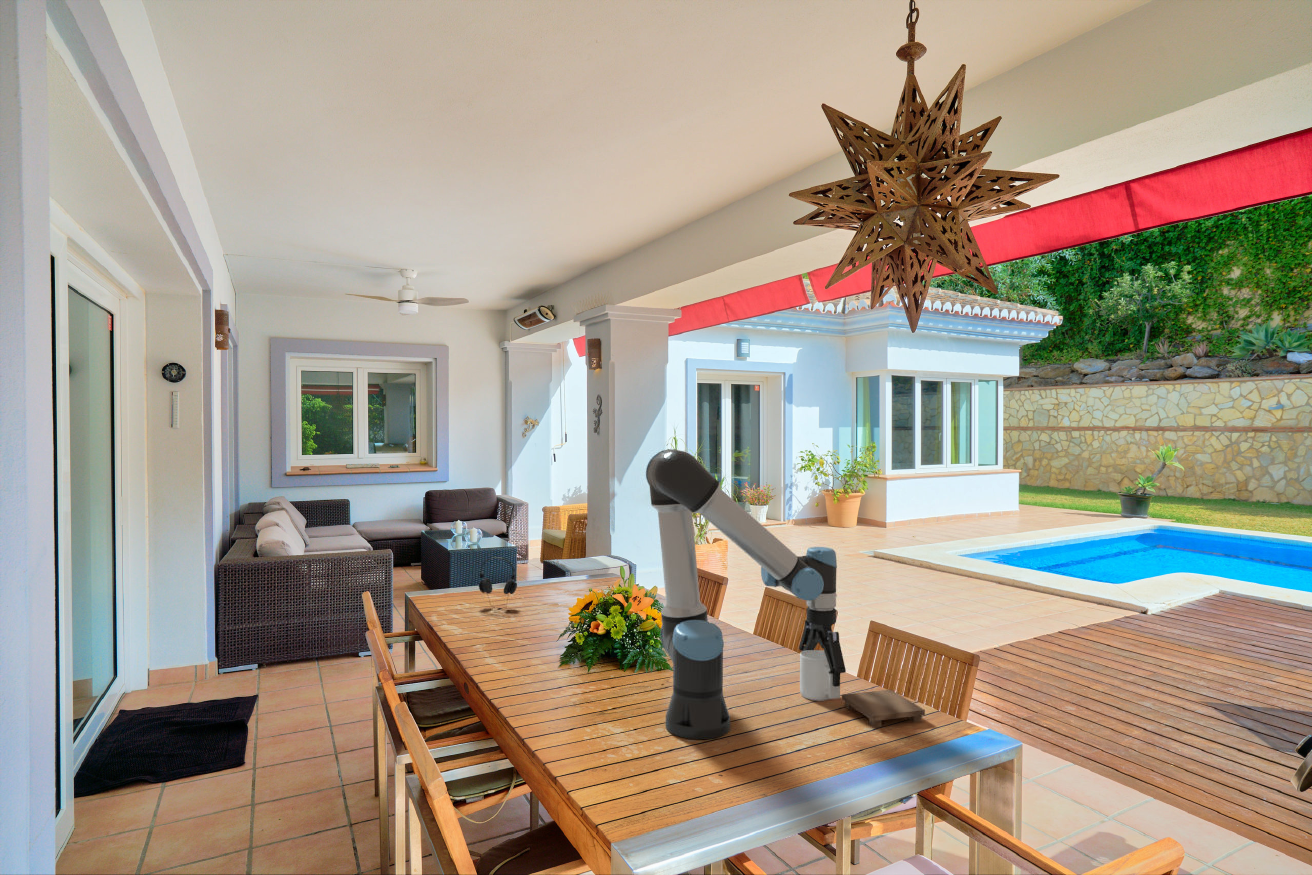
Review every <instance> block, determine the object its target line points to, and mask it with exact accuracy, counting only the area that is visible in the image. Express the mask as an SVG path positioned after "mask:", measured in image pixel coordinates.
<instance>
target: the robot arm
mask: <svg viewBox="0 0 1312 875" xmlns="http://www.w3.org/2000/svg"><path fill="white" fill-rule="evenodd" d="M645 478H646V481H647V483H648V486H649V495H650V503H651V504H650V506H651V507H653V509H655V510H656V511H657V514H658V515H657V516H658V525H659V526H658V528H659V537H660V549H661V560H662V569H663V570H662V571H663V581H664V592H665V594H664V595H665V603H666V604H665V605H664V607H663V608H662V609H661V612H660V613H661V614H660V615H661V628H660V641H661V644H662V648H663V649H664V650H665V651H664V652H666V653H667V655H668V656H669V658H670V660H671V662H672V665H673V666H672V671H673V673H672V681H673V682H672V684H673V685H672V686H673V687H672V695H671V699H670V701H669V705H668V708H667V711H666V714H665V728H666V730H667V731H668V732H669V733H671V734H673V735H675V736H677V737H679V738H680V737H681V738H684V739H689V740H690V739H691V740H709V739H710V740H711V739H716V738H719V737H722V736H724V735H725V734H727V733H728V732H729V731H730V729H731V717H730V714H729V709H728V706H727V703H726V700H725V697H724V691H723V690H724V689H723V685H724V679H723V678H724V676H723V675H724V645H725V644H724V643H725V642H724V636H723V631H722V629H721V628H720V627H719V626H718V625H717V624H716V623H713V622H709V620H708V619H709V617H708V608H707V607H706V605H705V604H704V603H702V602H701V598H700V596H701V595H700V588H699V576H698V563H697V552H696V542H695V530H694V519H693V514H700V515H701V516H702V517H703V518H704V519H706V520H707V521H708V522H709V523H710V524H712V525H713V527H715V528H716V529H717V530H718V531H719V532H721V534H723V535H724V536H725V537H727V538H728V539H729V540H730V541H731V542H732V543H734V545H736V546H737V547H738V548H739V549H740V550H742V551H743V552H744V553H745V554H747V556H749V557H750V558H751V559H752V560H753V561H754V562H756V563H757V564H758V565H759V566H760V574H761V575H760V576H761V580H762V582H763V584H764V585H765V586H766V587H773V588H777V587H781V588H783V589H784V590H786V591H788V592H790V593H791V594H792V595H794V596H795V597H796V598H797V599H799V600H803V601H806V606H807V608H806V619H805V620H804V627H803V631H802V635H801V638H800V643H799V645H798V646H799V647H798V649H799V651H801V652H803V651H806V650H816V648H817V646H818V645H819V646H820V648H821V649H823V651H824V652H825V655H826V658H827V661H828V664H829V667H830V671H829V700H835V699H841V674H842V673H843V674H844V673H846V671H847V670H846V666H845V661H844V656H843V652H842V647H841V644H840V633H839V631H833V630H832V629H833V627H832V626H833V625H835V624H836V623H837V609H836V607H837V597H838V595H837V568H838V567H837V566H838V565H837V553H836V551H835V550H834V549H833V548H831V547H828V546H827V547H825V546H813V547H811V546H810V547H809V548H807V549H806V553H805V555H802V556H800V555H799V556H797V554H796V553H795V552H793V551H792V550H791V549H790V548H788V546H786V544H784V542H782V541H781V540H779V539H778V537H776V536H775V535H773V533H772V532H770V531H769V530H768V529H767V528H766V527H765V526H763V525H762V524H761V522H759V521H758V520H756V518H754V517H753V516H752V515H751V514H750V513H749V512H748V511H746V510H745V509H744V508H743V507H742V506H741V505H740V504H739V503H737V502H736V501H735V500H734V499H733V498H731V497H730V496H729V495H728V494H727V493H726V492H725V491H724V490H722V488H721V482H720V481H719V480H718V479H716V478H715V477H714V475H712V474H711V473H710V472H709V471H708V470H707V468H706V467H704V466H703V465H702V464H701V463H700V461H699V460H698V459H697V458H696V457H694V455H692V454H690V453H689V452H686V451H684V450H678V449H675V448H674V449H673V448H667V449H662V450H661V451H658V452H657V453H656V454H654V455H653V456H652V457H651V458H650V459H649V461H648V463H647V465H646V469H645Z"/></svg>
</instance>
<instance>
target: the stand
mask: <svg viewBox="0 0 1312 875" xmlns="http://www.w3.org/2000/svg"><path fill="white" fill-rule="evenodd" d="M841 700H842V701H843V702H844V708H846V710H848V711H853V710H856V711H858V712H859V713H861V714H862V715H864V716H865V717H867V719H868V725H869V726H870V727H872V728H874V729H876V728H882V721H887V720H894V719H903V718H909V721H911V722H913V723H915V724H916V723H922V722H923V721H922V719H923V716H925V715H926V709H924V708H923V707H921V706H920V705H917V704H916V703H914V702H912V701H910V700H909V699H907V698H906V697H904V696H903V695H900V694H899V693H897V692H896V691H894V690H892V689H885V690H882V689H881V690H874V691H873V690H872V691H864V692H855V693H853V692H852V693H846V694H841Z"/></svg>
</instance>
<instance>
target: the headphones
mask: <svg viewBox="0 0 1312 875" xmlns="http://www.w3.org/2000/svg"><path fill="white" fill-rule="evenodd" d="M493 559H499V560H503V561H505V562H506V563H508V564H509V566H510V567H511V570H512V573H513V574H511V576H510V577H511V578H508V580H507V582H506V583H505V585H504V588H503V594H504V595H509V594H510V595H513V594H514V593H515V592H516V591H517V587H518V583H517V582H516V581H515V580H516V574H515V572H516V569H515V568H514V567H513V565H512V563H511V562H510V560H509V559H507V558H504V557H501V556H493V557H490V558H487V559H486V560H484V561H483V563H482V565H481V566H480V573H479V579H482V580H480V581H479V583H478V589H479V591H480V592H481V593H482V594H485V593H486V595H487V597H488V598H487V599H490V597H489V595H488V594H492V592H493V584H492V581H491V580H490V579H489V578H488V577H485V575H484V573H483V567H484V565H485V563H487V562H488V561H490V560H493ZM508 599H509V597H507V600H506V601H508ZM488 602H489V603H491V602H490V600H488ZM490 605H491V606H492V608H494V611H493V612H496V613H498V614H499V613H500V614H504V613H507V612H508V613H510V612H511V610H507V609H506V608H507V606H508V604H506V607H503V610H502V607H497V610H496V607H495V606H493V605H492V604H490ZM504 608H505V609H506V610H505V609H504ZM500 610H501V611H500ZM503 611H505V612H503ZM488 613H489V614H490V612H488Z"/></svg>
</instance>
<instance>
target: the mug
mask: <svg viewBox="0 0 1312 875" xmlns="http://www.w3.org/2000/svg"><path fill="white" fill-rule="evenodd" d="M829 671H830V667H829V664H828V661H827V658H826V655H825V652H824V650H820V649H814V650H806V651H803V652H802V651H801V652H800V653H799V692H800V695H801V696H802V697H803V698H805V699H807V700H811V701H817V702H818V701H819V702H821V701H822V702H823V701H828V700H830V699H829Z"/></svg>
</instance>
